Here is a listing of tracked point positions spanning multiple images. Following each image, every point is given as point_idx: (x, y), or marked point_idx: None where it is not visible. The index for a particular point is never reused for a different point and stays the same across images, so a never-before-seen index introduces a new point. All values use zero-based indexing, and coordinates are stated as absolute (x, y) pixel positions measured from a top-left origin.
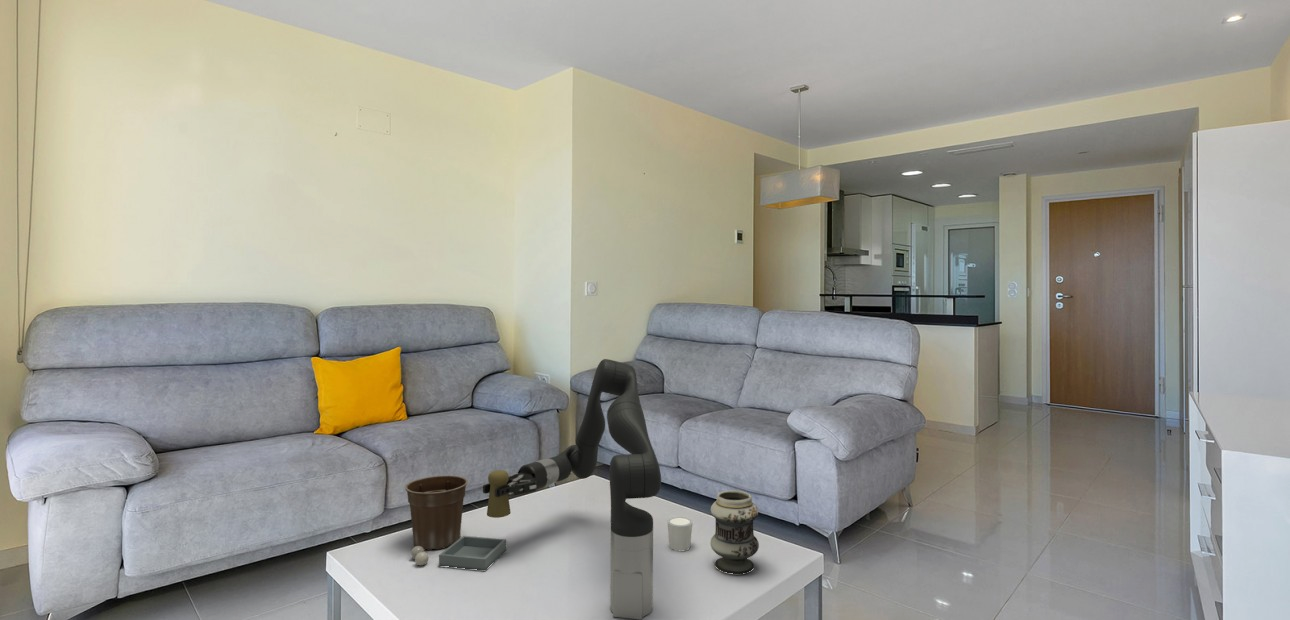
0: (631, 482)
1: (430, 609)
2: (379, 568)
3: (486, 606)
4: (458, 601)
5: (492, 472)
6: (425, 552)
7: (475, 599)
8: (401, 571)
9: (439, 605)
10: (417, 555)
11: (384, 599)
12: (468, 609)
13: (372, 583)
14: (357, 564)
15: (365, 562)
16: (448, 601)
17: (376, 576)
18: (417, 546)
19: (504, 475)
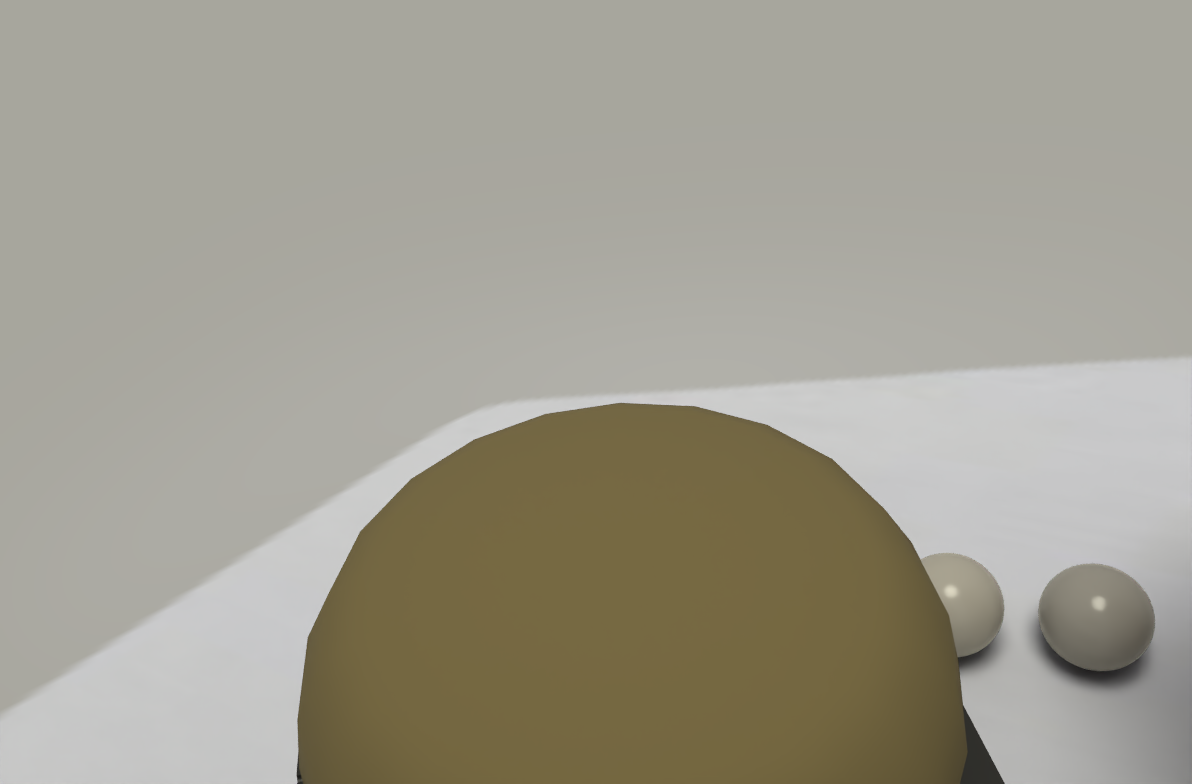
0: None
1: (321, 506)
2: (1029, 455)
3: (45, 717)
4: (256, 626)
5: (681, 428)
6: (955, 597)
7: (177, 705)
8: (905, 524)
9: (315, 545)
10: (941, 553)
11: (602, 402)
12: (129, 632)
13: (829, 400)
14: (1158, 394)
15: (1173, 424)
16: (309, 589)
17: (913, 426)
18: (1104, 580)
19: (307, 662)
